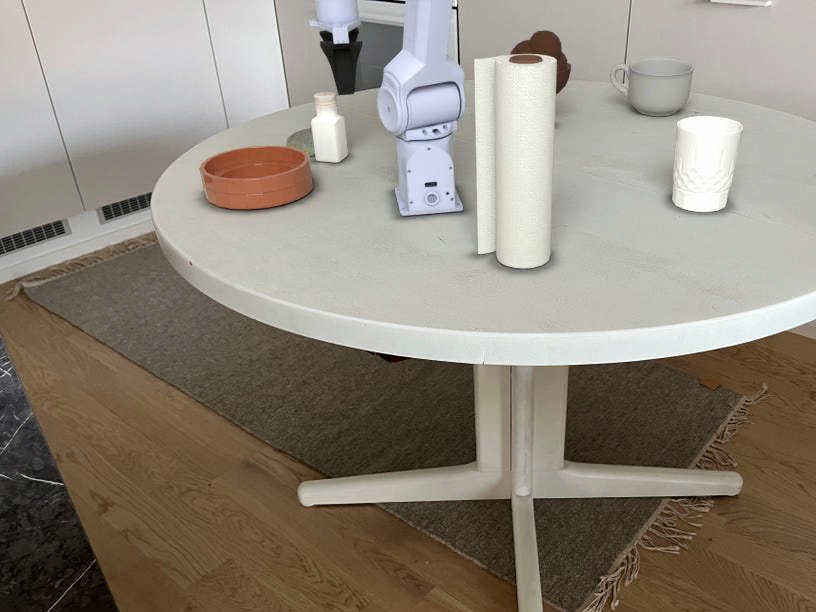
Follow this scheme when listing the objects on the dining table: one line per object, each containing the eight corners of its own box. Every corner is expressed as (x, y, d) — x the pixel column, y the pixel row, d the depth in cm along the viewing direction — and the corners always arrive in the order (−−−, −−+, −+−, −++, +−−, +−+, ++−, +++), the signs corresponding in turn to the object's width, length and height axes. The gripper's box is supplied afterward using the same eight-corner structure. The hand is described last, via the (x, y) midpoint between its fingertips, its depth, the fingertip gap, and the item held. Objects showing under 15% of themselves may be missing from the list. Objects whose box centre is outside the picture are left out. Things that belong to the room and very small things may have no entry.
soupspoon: (283, 161, 121) (326, 162, 121) (280, 139, 119) (324, 141, 119) (307, 116, 139) (344, 117, 139) (305, 96, 137) (343, 98, 137)
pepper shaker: (350, 155, 120) (343, 91, 115) (339, 164, 117) (331, 98, 112) (325, 154, 121) (318, 90, 116) (314, 162, 118) (305, 97, 113)
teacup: (697, 108, 139) (703, 61, 135) (675, 124, 131) (680, 74, 127) (623, 99, 145) (627, 53, 141) (598, 113, 138) (601, 65, 133)
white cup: (685, 217, 97) (696, 136, 92) (657, 195, 104) (665, 119, 98) (742, 210, 99) (756, 130, 94) (711, 189, 105) (722, 113, 100)
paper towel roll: (561, 258, 88) (570, 57, 77) (523, 275, 85) (526, 67, 73) (515, 240, 93) (516, 47, 81) (477, 255, 89) (473, 56, 78)
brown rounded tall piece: (568, 116, 136) (572, 23, 128) (568, 135, 127) (572, 36, 119) (507, 115, 137) (507, 23, 129) (502, 134, 128) (502, 36, 120)
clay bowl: (313, 206, 103) (308, 175, 101) (200, 215, 101) (193, 183, 99) (313, 171, 115) (309, 142, 112) (212, 178, 113) (206, 149, 110)
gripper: (304, -22, 112) (316, 78, 119) (303, -8, 100) (317, 102, 107) (354, -24, 113) (363, 75, 120) (360, -10, 101) (370, 98, 108)
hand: (345, 87), depth 114 cm, fingers open, 7 cm apart
